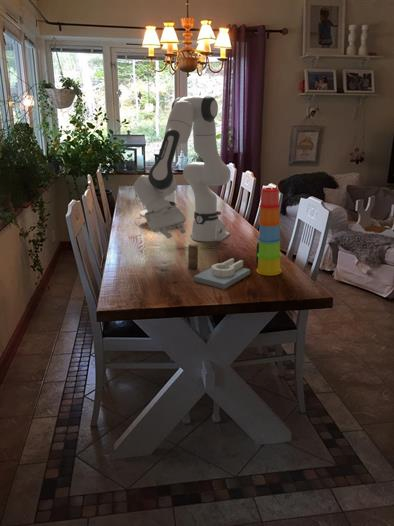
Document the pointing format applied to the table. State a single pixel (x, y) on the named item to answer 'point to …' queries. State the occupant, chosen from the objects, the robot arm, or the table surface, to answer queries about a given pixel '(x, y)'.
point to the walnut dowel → (192, 256)
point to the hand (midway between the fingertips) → (177, 235)
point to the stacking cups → (269, 233)
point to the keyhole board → (221, 280)
